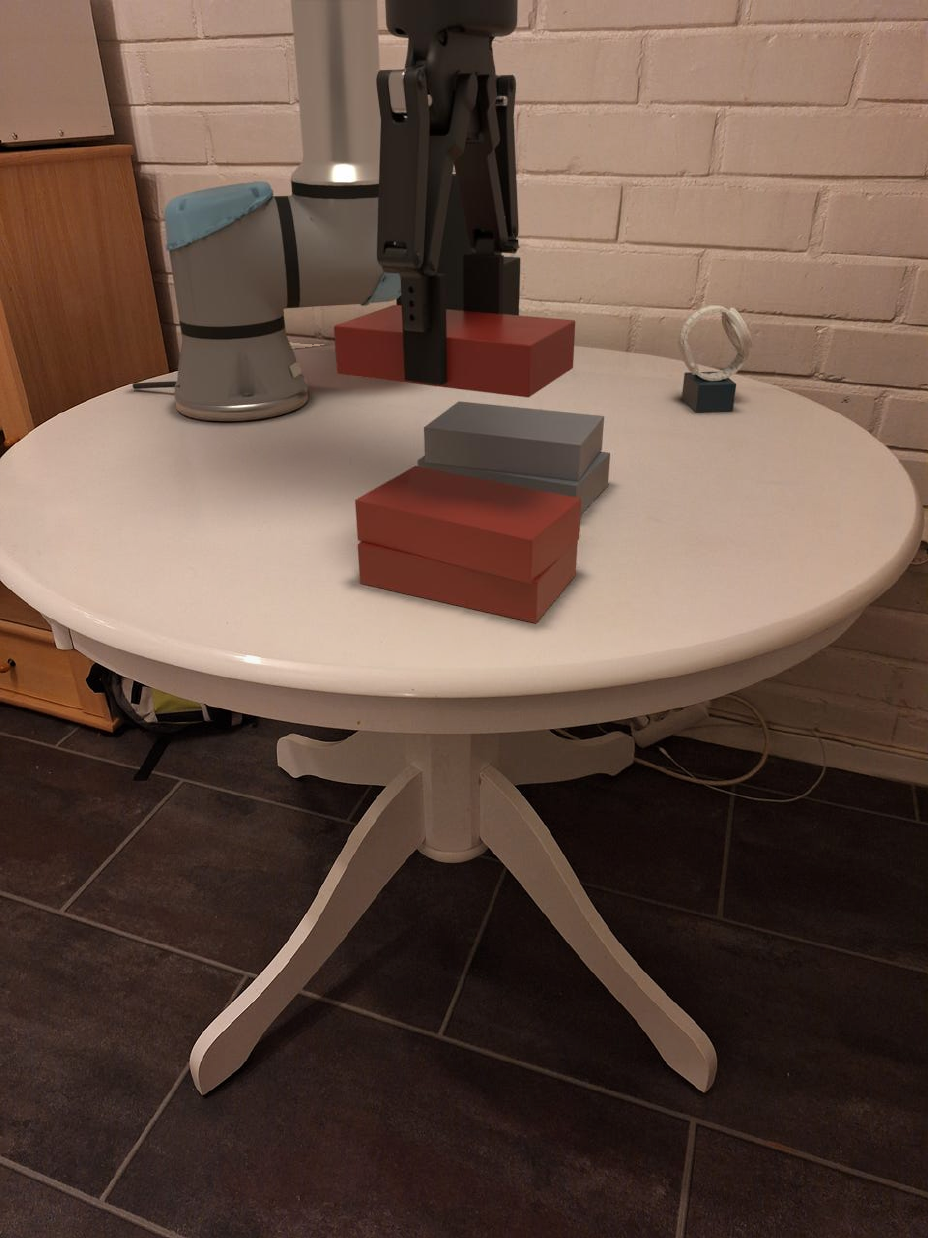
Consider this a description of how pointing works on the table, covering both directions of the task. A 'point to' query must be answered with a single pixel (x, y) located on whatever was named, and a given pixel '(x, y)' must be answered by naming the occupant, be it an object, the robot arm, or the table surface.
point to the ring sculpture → (714, 386)
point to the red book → (464, 350)
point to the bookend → (452, 259)
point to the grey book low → (543, 479)
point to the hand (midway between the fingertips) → (456, 365)
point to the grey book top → (515, 440)
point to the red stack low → (465, 582)
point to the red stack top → (470, 522)
